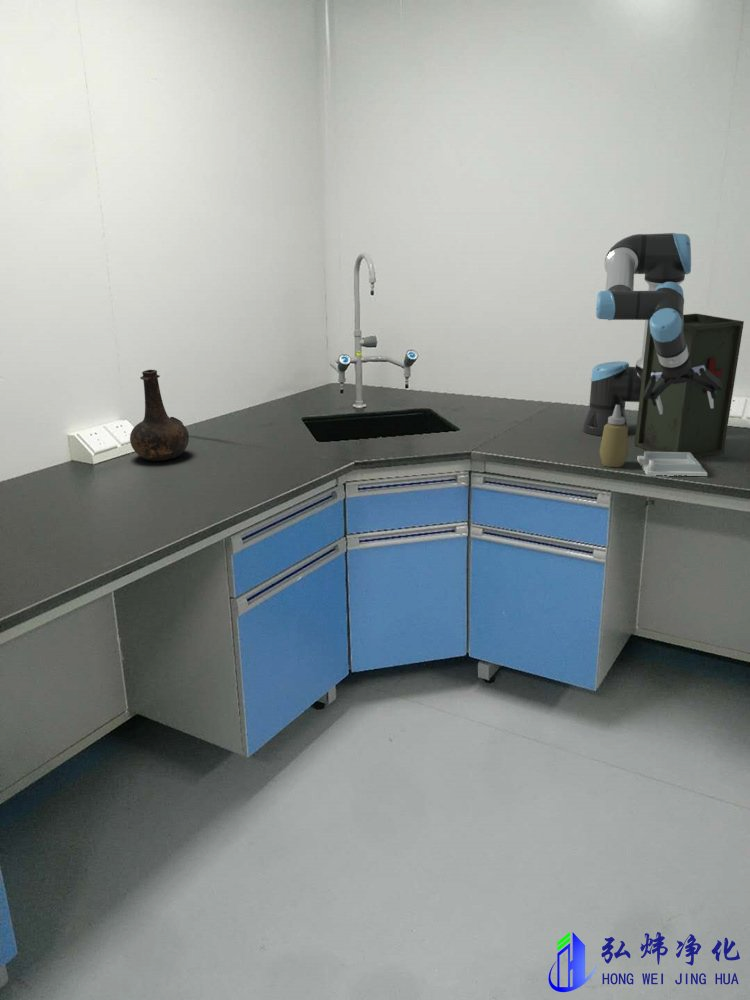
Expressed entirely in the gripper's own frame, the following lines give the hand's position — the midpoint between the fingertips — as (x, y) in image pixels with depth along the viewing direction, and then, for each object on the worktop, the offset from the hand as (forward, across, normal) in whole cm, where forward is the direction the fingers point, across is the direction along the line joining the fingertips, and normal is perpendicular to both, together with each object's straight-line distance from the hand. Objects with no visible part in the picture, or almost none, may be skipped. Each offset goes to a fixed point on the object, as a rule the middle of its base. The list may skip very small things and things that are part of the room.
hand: (686, 407), depth 216 cm
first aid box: (+23, -6, +2) cm, 24 cm away
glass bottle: (-46, -150, -32) cm, 160 cm away
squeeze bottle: (+5, -21, -15) cm, 26 cm away
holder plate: (+9, -5, -14) cm, 18 cm away
